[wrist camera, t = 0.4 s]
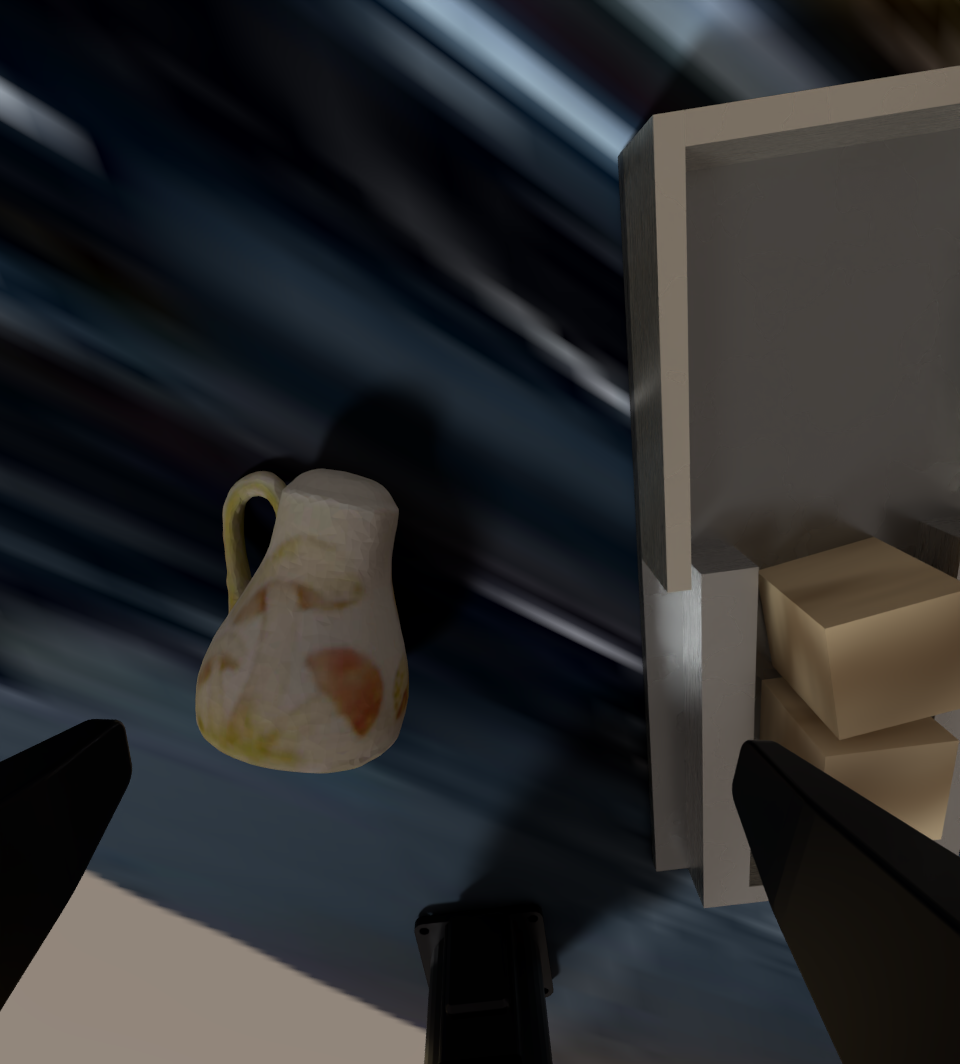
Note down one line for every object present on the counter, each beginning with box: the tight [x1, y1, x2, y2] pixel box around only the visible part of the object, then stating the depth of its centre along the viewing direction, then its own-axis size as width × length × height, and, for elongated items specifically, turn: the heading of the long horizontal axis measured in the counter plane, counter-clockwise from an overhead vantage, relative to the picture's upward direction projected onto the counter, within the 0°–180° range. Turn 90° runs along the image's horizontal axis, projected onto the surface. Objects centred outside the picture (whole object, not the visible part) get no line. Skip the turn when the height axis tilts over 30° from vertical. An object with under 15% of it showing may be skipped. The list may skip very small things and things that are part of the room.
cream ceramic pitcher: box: [196, 468, 409, 773], centre depth 20 cm, size 8×10×10 cm
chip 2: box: [760, 677, 959, 840], centre depth 22 cm, size 4×4×4 cm
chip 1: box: [758, 537, 960, 740], centre depth 20 cm, size 4×4×4 cm
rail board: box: [618, 66, 960, 908], centre depth 21 cm, size 30×14×4 cm, turn 8°
